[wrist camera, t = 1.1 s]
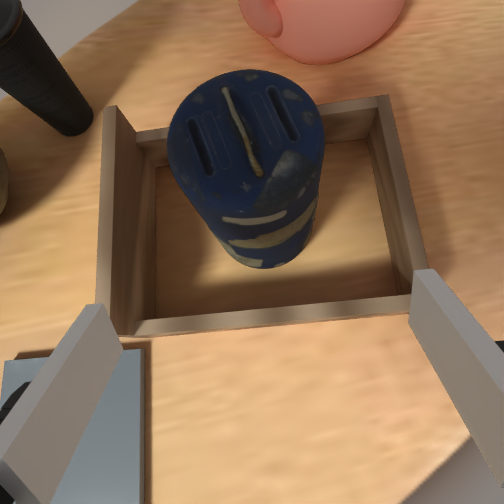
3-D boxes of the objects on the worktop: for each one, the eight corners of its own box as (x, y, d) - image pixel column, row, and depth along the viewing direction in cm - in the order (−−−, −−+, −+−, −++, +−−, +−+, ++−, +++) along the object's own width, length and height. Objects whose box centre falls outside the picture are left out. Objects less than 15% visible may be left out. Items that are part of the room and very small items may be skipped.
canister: (305, 180, 36) (315, 29, 19) (319, 266, 34) (346, 182, 16) (217, 193, 37) (150, 60, 20) (224, 278, 34) (154, 210, 17)
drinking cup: (83, 155, 40) (-106, -17, 21) (34, 135, 42) (-183, -42, 23) (116, 103, 42) (-34, -101, 23) (67, 86, 43) (-111, -119, 24)
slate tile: (-5, 521, 31) (-14, 527, 30) (12, 360, 35) (4, 360, 34) (144, 515, 30) (139, 521, 29) (144, 348, 33) (140, 348, 32)
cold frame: (144, 338, 34) (93, 335, 25) (145, 159, 39) (103, 107, 31) (415, 313, 31) (462, 300, 23) (376, 127, 37) (401, 60, 28)
